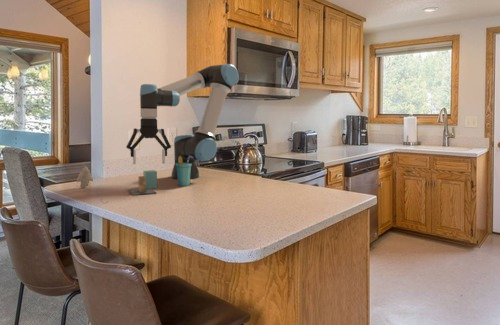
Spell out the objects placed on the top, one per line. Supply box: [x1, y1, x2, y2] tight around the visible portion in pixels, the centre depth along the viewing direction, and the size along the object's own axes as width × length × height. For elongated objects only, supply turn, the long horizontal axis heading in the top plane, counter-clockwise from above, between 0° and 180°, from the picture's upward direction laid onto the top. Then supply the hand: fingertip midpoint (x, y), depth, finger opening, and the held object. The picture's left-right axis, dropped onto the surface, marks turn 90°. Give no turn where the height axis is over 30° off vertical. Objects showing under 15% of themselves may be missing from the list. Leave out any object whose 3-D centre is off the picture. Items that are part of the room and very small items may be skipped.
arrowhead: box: [76, 166, 94, 189], centre depth 182 cm, size 8×3×10 cm, turn 139°
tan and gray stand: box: [128, 175, 157, 196], centre depth 172 cm, size 10×10×7 cm
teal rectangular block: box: [143, 169, 158, 189], centre depth 185 cm, size 5×5×8 cm
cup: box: [176, 156, 194, 187], centre depth 189 cm, size 14×8×15 cm, turn 46°
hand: (149, 163), depth 184 cm, fingers open, 13 cm apart
